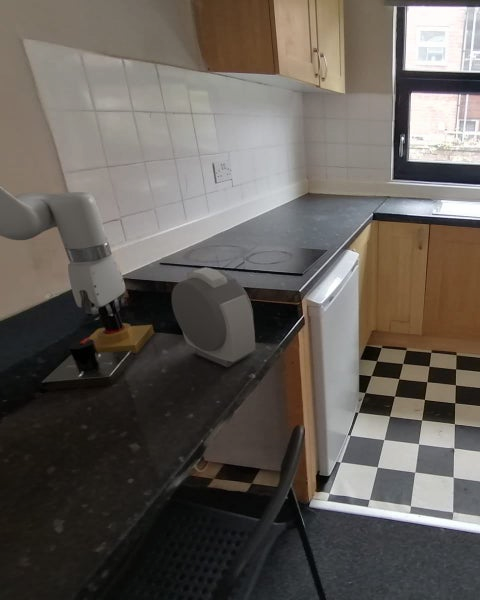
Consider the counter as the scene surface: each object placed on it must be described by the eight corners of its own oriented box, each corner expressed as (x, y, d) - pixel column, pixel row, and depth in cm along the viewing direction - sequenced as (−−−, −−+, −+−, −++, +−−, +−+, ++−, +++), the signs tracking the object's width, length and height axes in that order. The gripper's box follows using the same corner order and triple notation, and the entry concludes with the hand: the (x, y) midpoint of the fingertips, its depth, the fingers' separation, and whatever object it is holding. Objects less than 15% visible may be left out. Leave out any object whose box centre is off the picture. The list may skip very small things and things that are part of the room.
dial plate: (44, 390, 78) (40, 381, 78) (73, 362, 87) (70, 354, 86) (112, 384, 80) (109, 375, 79) (133, 358, 89) (131, 349, 88)
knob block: (78, 357, 89) (72, 342, 88) (101, 336, 98) (96, 321, 97) (137, 353, 91) (132, 337, 89) (154, 332, 100) (150, 318, 98)
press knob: (103, 339, 92) (101, 333, 91) (111, 332, 95) (108, 325, 94) (120, 338, 92) (118, 331, 92) (127, 331, 96) (125, 324, 95)
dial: (92, 370, 81) (84, 347, 79) (72, 370, 81) (63, 347, 79) (105, 359, 85) (97, 337, 83) (86, 359, 85) (78, 337, 83)
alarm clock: (264, 357, 90) (251, 272, 81) (232, 376, 83) (214, 285, 75) (212, 337, 98) (195, 258, 90) (179, 353, 91) (158, 268, 83)
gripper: (96, 242, 92) (119, 314, 100) (43, 264, 79) (74, 345, 86) (128, 242, 92) (149, 314, 100) (81, 264, 79) (109, 345, 86)
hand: (114, 328), depth 93 cm, fingers closed
